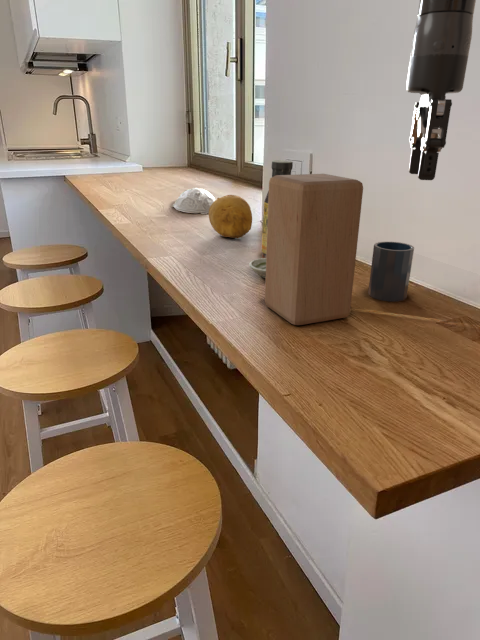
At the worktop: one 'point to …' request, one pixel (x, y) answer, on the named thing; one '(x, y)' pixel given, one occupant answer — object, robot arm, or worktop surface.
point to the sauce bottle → (277, 169)
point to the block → (311, 246)
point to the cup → (390, 271)
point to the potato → (230, 216)
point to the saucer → (259, 266)
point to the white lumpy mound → (194, 201)
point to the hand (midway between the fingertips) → (420, 176)
